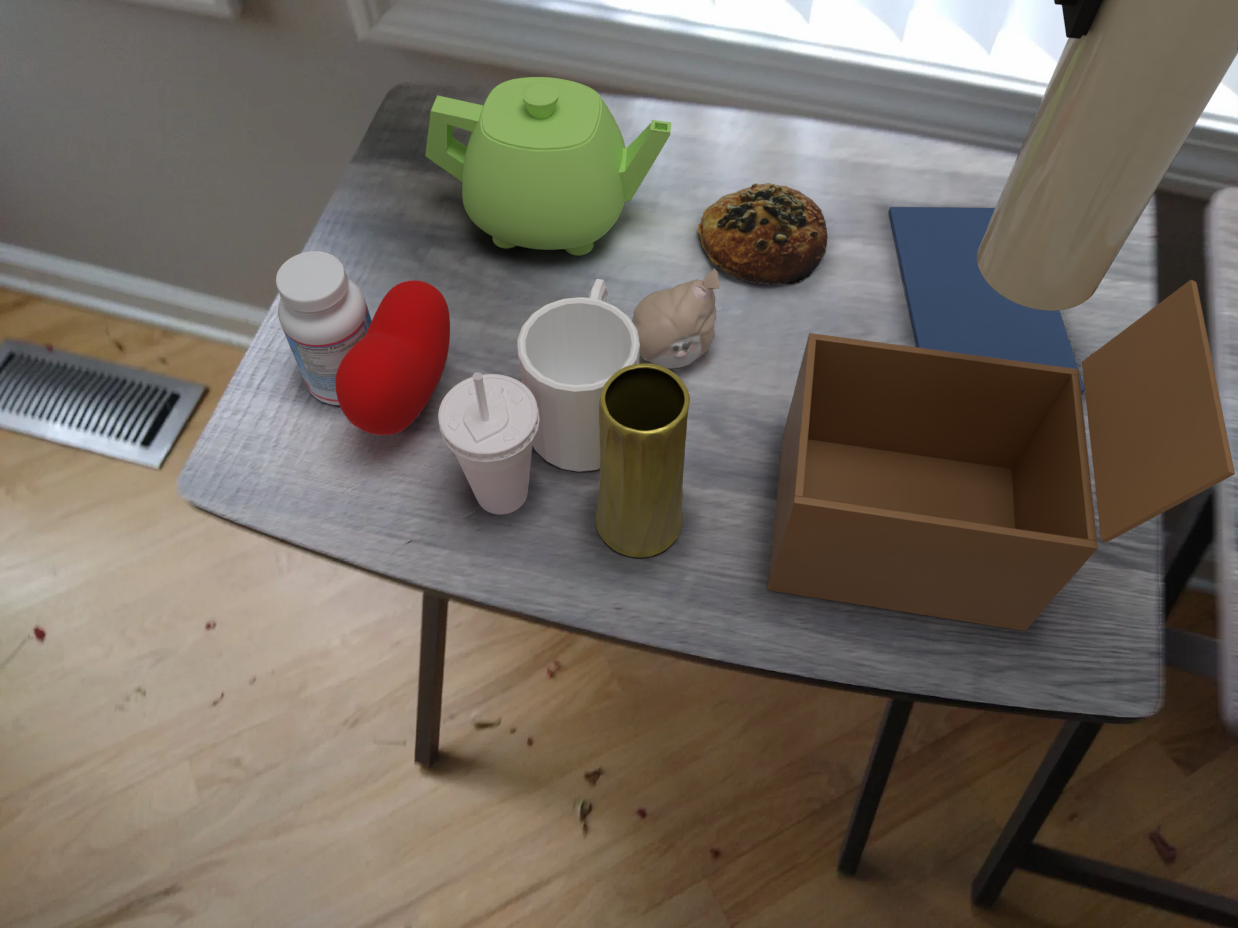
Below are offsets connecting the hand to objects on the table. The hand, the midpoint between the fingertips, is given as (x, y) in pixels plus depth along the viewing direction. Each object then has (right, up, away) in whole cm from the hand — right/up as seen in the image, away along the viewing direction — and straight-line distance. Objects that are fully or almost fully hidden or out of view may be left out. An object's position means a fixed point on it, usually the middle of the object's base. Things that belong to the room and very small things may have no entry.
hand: (1160, 25), depth 41 cm
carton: (-3, -23, +28) cm, 36 cm away
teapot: (-28, +3, +45) cm, 53 cm away
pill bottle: (-43, -12, +35) cm, 57 cm away
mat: (+7, -5, +40) cm, 41 cm away
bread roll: (-10, +1, +43) cm, 45 cm away
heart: (-38, -15, +33) cm, 53 cm away
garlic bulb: (-18, -9, +37) cm, 42 cm away
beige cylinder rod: (0, -8, +12) cm, 14 cm away
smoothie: (-31, -20, +30) cm, 47 cm away
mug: (-25, -14, +34) cm, 44 cm away
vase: (-21, -22, +28) cm, 42 cm away
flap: (+7, -15, +14) cm, 22 cm away
